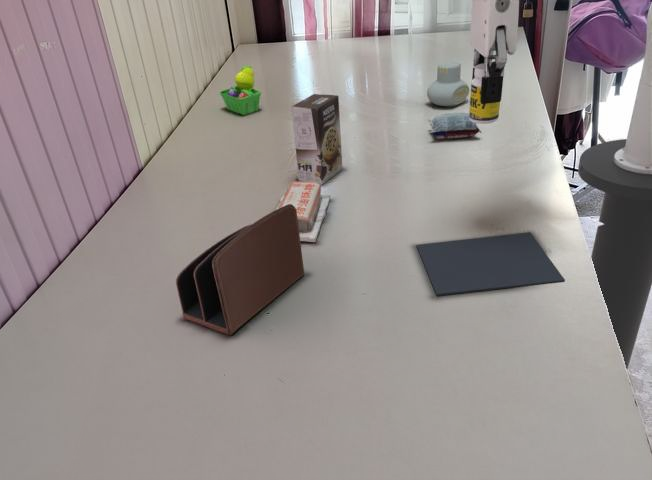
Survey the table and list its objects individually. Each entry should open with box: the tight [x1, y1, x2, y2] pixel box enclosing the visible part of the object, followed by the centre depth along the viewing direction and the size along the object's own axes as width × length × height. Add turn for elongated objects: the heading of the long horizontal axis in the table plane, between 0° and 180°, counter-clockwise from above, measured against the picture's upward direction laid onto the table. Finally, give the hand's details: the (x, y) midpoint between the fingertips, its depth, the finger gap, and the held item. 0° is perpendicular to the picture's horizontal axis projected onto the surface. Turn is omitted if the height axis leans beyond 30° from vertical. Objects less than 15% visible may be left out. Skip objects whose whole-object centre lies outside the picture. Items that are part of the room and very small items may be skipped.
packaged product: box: [275, 180, 331, 243], centre depth 122 cm, size 18×5×10 cm
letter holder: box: [175, 204, 305, 336], centre depth 100 cm, size 10×20×14 cm, turn 145°
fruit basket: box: [219, 65, 262, 116], centre depth 179 cm, size 11×9×11 cm
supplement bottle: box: [468, 63, 501, 125], centre depth 103 cm, size 5×5×8 cm
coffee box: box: [291, 93, 343, 185], centre depth 135 cm, size 9×6×16 cm
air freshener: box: [426, 60, 470, 108], centre depth 167 cm, size 11×8×10 cm
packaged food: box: [427, 112, 482, 140], centre depth 150 cm, size 9×12×5 cm
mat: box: [416, 231, 566, 297], centre depth 105 cm, size 20×16×1 cm
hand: (485, 96), depth 103 cm, fingers closed on supplement bottle, 4 cm apart
